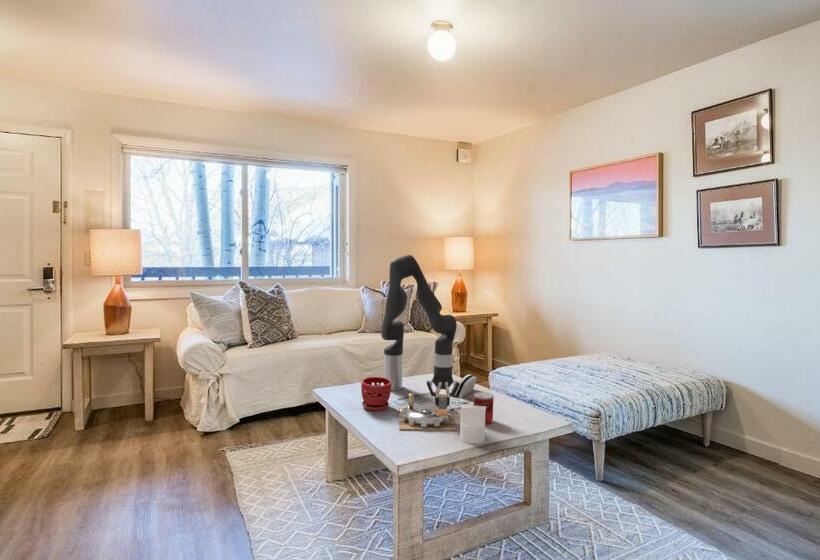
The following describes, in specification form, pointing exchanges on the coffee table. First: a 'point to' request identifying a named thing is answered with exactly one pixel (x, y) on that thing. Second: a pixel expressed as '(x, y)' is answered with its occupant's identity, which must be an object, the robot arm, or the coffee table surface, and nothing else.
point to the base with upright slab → (472, 424)
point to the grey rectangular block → (442, 402)
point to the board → (442, 427)
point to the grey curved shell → (466, 385)
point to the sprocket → (425, 414)
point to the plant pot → (375, 393)
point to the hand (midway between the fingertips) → (442, 405)
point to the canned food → (485, 404)
